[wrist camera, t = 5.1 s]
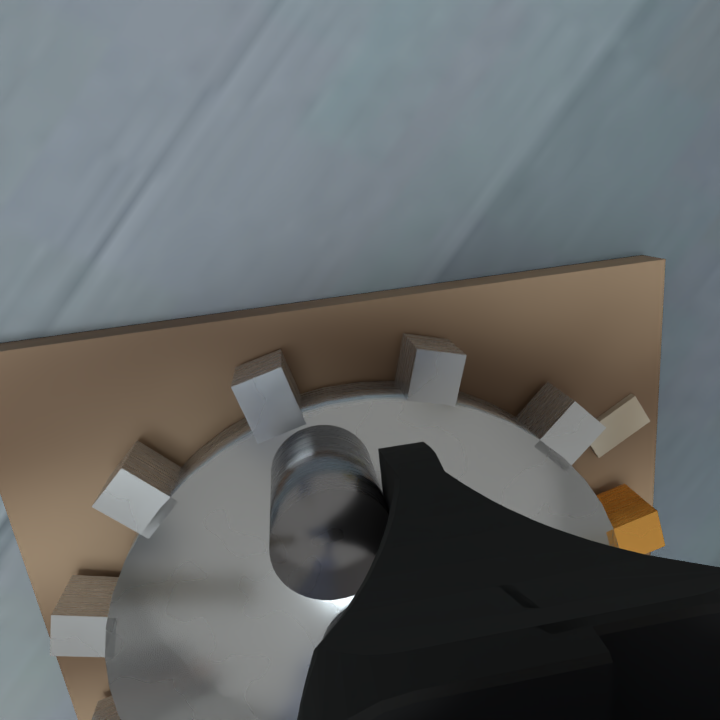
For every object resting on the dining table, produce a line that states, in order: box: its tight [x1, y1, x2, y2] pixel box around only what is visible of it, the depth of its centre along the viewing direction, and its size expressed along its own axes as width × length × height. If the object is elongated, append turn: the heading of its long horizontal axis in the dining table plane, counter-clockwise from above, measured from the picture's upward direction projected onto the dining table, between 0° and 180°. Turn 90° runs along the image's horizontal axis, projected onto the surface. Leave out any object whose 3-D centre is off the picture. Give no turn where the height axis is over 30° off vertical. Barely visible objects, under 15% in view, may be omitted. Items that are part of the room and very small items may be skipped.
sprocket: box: [50, 333, 665, 720], centre depth 14 cm, size 16×16×4 cm
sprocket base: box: [0, 255, 665, 720], centre depth 17 cm, size 18×18×1 cm
